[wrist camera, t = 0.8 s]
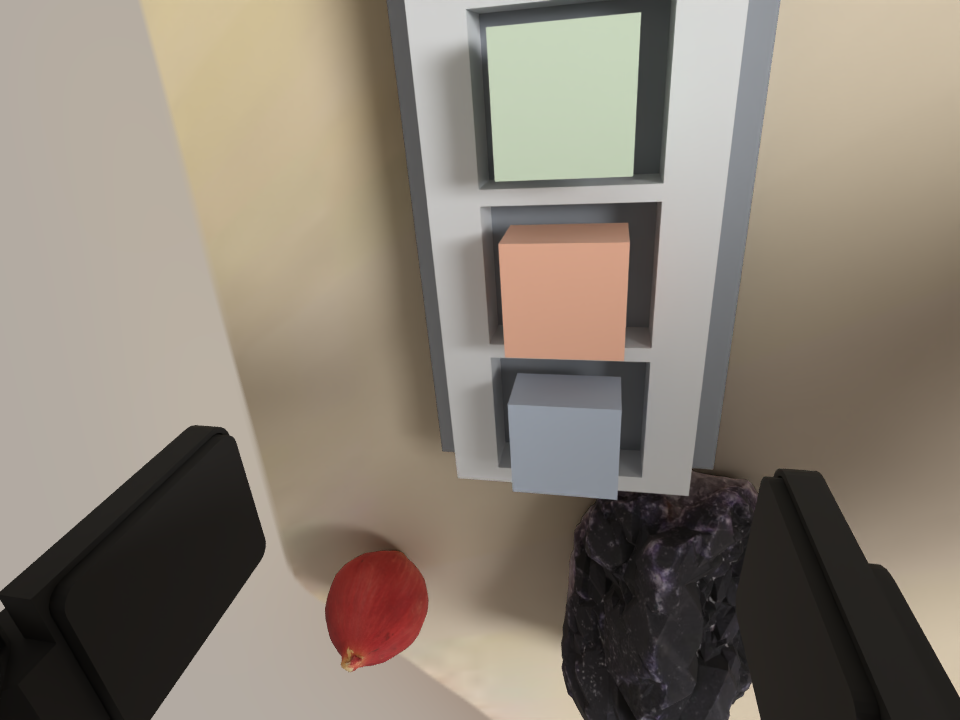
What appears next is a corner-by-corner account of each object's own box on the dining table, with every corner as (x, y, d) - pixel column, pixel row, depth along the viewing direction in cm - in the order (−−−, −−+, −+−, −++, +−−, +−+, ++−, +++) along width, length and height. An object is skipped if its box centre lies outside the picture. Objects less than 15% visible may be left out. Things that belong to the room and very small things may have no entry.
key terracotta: (628, 222, 20) (629, 242, 18) (623, 331, 22) (624, 361, 20) (510, 225, 21) (498, 244, 19) (515, 329, 23) (505, 357, 21)
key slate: (620, 376, 23) (621, 410, 21) (616, 461, 25) (617, 499, 23) (517, 373, 24) (507, 404, 22) (521, 454, 26) (512, 491, 23)
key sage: (637, 18, 17) (640, 12, 15) (631, 163, 19) (632, 176, 17) (501, 31, 18) (485, 27, 16) (507, 168, 20) (494, 181, 18)
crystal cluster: (792, 429, 28) (842, 578, 19) (837, 639, 31) (895, 842, 23) (536, 465, 33) (485, 593, 24) (601, 640, 37) (577, 804, 28)
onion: (445, 593, 37) (407, 716, 30) (363, 582, 38) (307, 697, 31) (438, 526, 34) (394, 643, 27) (349, 516, 35) (285, 626, 29)
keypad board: (807, -306, 16) (859, -406, 13) (707, 444, 28) (720, 498, 24) (379, -220, 19) (327, -282, 16) (452, 429, 31) (431, 475, 27)
